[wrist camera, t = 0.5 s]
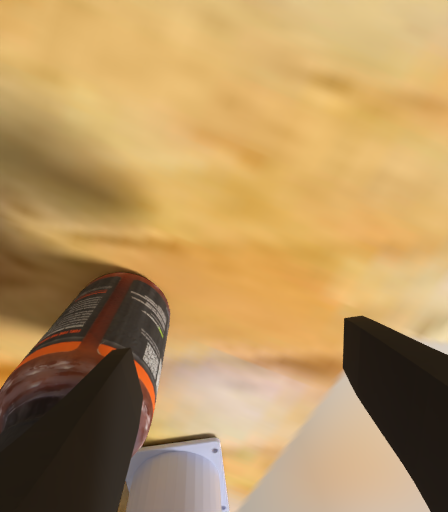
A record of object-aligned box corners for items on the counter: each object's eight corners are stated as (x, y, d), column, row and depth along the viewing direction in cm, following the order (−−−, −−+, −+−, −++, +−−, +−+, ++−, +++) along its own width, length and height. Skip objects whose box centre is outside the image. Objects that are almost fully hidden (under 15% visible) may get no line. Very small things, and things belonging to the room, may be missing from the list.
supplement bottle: (62, 318, 19) (-114, 522, 8) (111, 250, 18) (-22, 388, 7) (139, 362, 21) (72, 582, 10) (189, 302, 19) (175, 480, 9)
